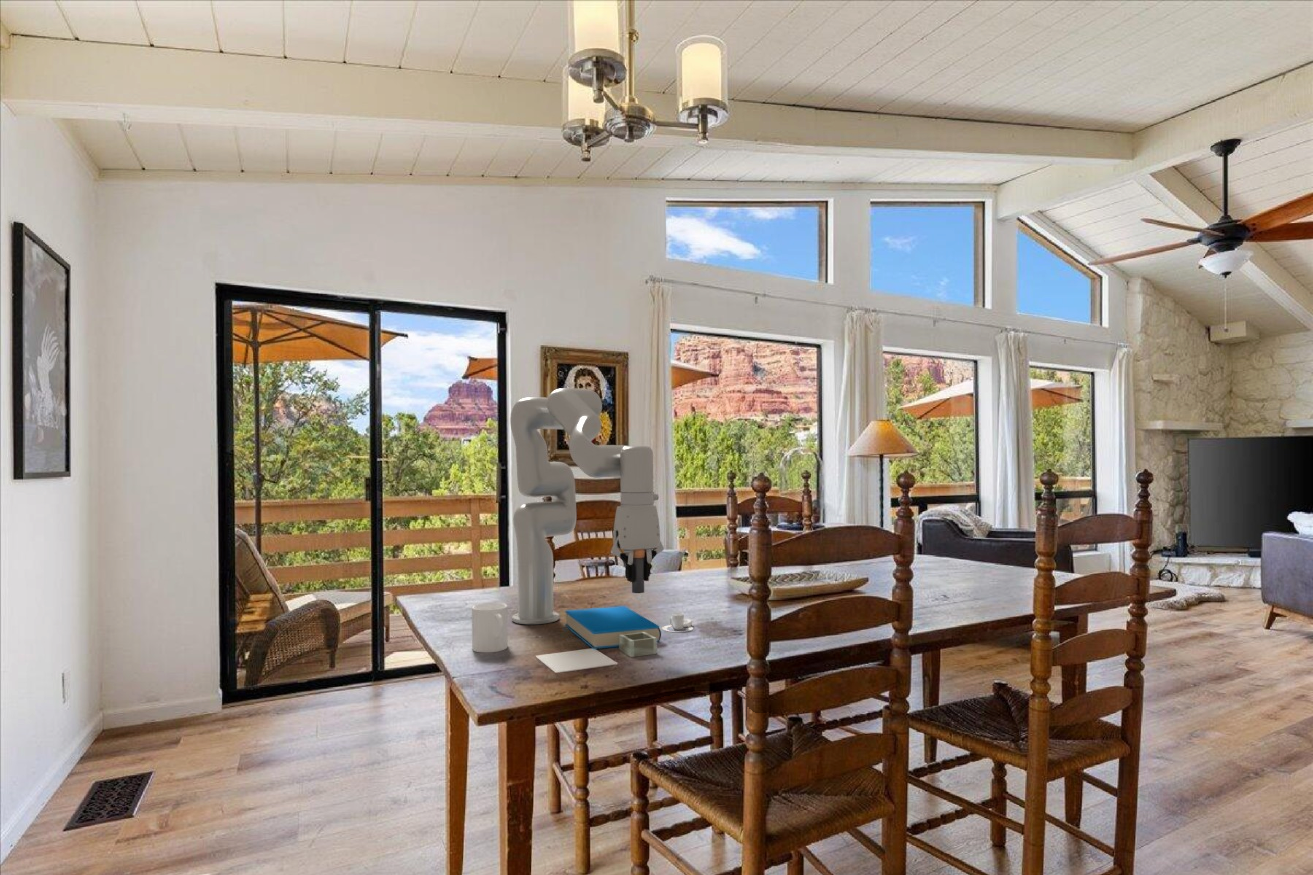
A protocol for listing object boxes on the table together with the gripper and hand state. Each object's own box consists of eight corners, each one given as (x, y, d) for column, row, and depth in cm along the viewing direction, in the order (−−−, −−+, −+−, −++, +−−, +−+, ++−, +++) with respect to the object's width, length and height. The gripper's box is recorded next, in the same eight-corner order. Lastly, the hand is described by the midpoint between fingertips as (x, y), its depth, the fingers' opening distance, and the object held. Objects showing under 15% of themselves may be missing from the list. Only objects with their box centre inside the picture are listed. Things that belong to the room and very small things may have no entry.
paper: (535, 656, 173) (535, 655, 173) (593, 648, 179) (593, 648, 179) (555, 673, 160) (555, 672, 160) (617, 664, 166) (617, 663, 166)
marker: (629, 591, 177) (628, 547, 177) (641, 590, 178) (641, 546, 178) (634, 593, 174) (634, 549, 174) (647, 592, 175) (646, 548, 175)
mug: (485, 658, 171) (485, 614, 171) (467, 646, 181) (467, 604, 182) (519, 653, 176) (519, 609, 176) (500, 641, 186) (499, 600, 186)
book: (593, 632, 178) (564, 609, 201) (593, 650, 178) (564, 625, 201) (662, 625, 184) (625, 604, 208) (662, 643, 184) (625, 620, 208)
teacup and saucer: (687, 624, 204) (687, 609, 204) (701, 631, 196) (701, 615, 196) (657, 628, 200) (657, 612, 200) (670, 635, 193) (670, 618, 193)
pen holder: (619, 650, 178) (619, 634, 178) (644, 646, 180) (644, 631, 180) (630, 657, 172) (630, 641, 172) (656, 653, 175) (656, 637, 175)
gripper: (661, 497, 183) (662, 575, 183) (597, 500, 176) (598, 581, 176) (676, 499, 177) (677, 580, 176) (610, 502, 169) (611, 586, 169)
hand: (637, 580), depth 176 cm, fingers closed on marker, 2 cm apart
